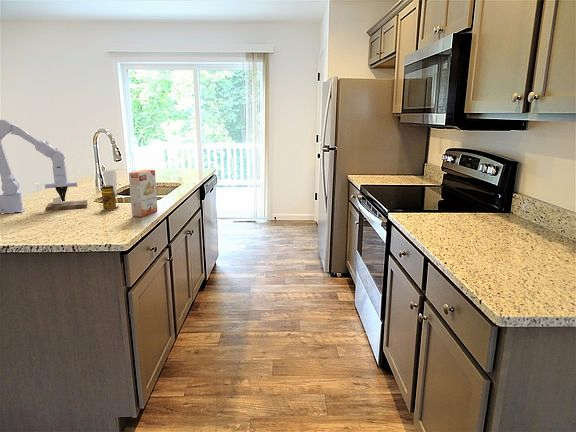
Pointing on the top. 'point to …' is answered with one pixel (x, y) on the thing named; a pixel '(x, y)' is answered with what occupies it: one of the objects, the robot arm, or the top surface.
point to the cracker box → (143, 192)
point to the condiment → (108, 198)
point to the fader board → (67, 205)
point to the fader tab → (57, 200)
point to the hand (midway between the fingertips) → (63, 201)
